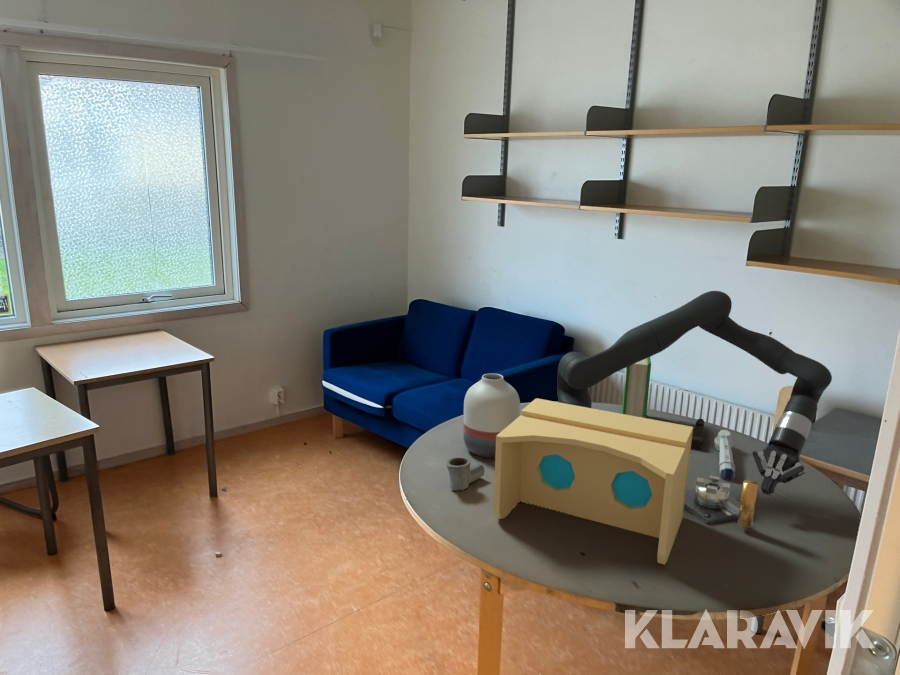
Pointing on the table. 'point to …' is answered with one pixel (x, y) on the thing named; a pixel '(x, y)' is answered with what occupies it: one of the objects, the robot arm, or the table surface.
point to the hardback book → (636, 388)
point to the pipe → (463, 472)
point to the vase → (488, 413)
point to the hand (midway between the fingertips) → (765, 492)
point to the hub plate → (708, 509)
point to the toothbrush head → (725, 454)
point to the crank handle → (718, 495)
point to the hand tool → (697, 435)
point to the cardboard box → (596, 468)
